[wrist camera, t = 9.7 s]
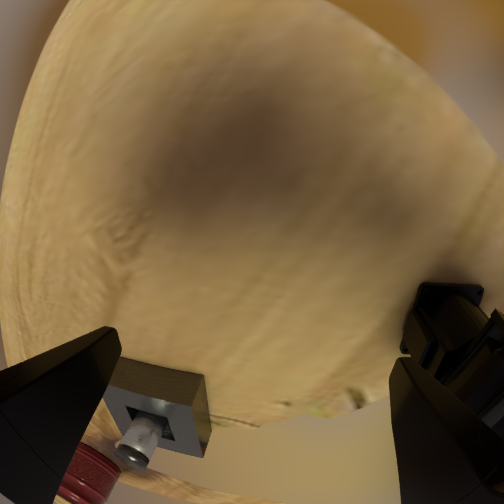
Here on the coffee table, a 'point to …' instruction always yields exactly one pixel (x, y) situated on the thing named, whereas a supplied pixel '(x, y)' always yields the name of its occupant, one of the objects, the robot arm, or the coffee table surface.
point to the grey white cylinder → (141, 439)
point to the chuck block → (162, 403)
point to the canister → (87, 478)
